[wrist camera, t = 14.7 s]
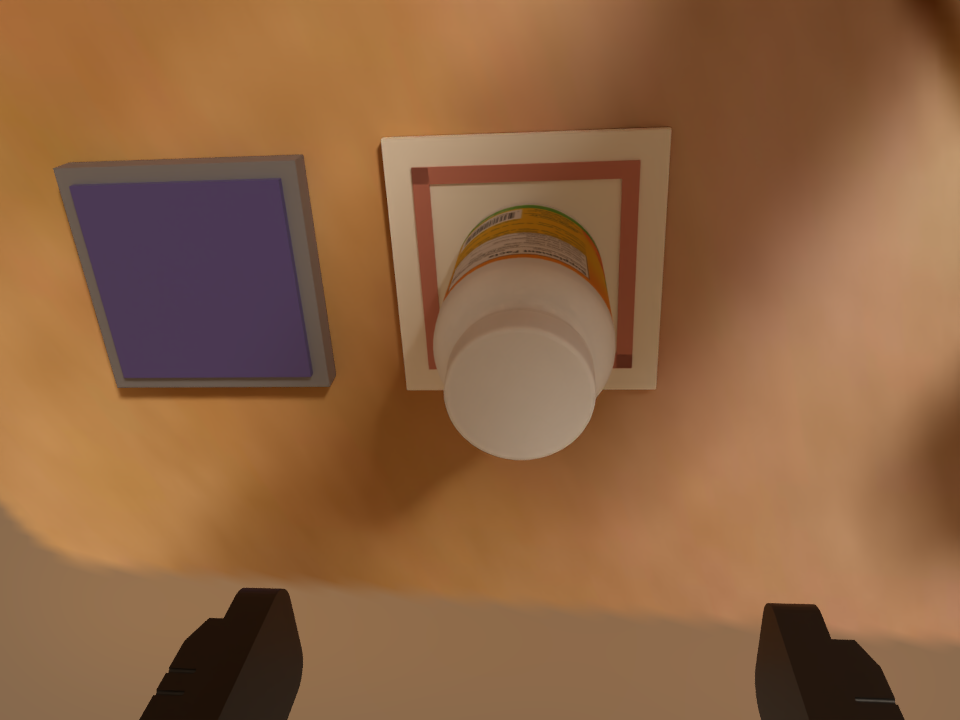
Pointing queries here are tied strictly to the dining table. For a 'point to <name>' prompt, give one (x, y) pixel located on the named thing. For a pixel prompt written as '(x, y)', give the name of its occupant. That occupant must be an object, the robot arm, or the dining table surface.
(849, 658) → the robot arm
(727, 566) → the dining table surface
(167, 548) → the dining table surface
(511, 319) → the supplement bottle
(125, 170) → the ink pad
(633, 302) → the marked card
